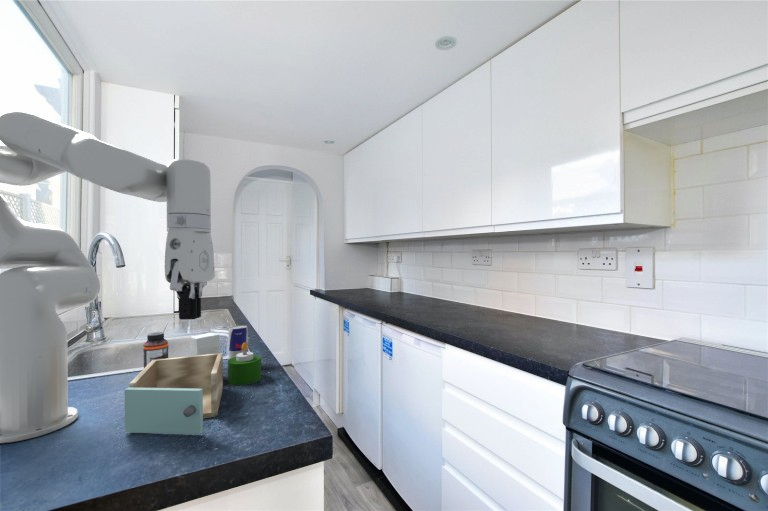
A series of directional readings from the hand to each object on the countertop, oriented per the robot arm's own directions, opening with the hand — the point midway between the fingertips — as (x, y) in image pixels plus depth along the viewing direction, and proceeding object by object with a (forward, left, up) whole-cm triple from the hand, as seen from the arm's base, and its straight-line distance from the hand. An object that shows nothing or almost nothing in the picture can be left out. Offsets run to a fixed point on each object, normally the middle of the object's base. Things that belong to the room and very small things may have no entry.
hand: (190, 318), depth 66 cm
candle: (+9, +23, -21) cm, 33 cm away
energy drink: (+7, +35, -21) cm, 42 cm away
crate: (-3, +10, -21) cm, 24 cm away
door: (-4, -2, -21) cm, 21 cm away
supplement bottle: (-15, +39, -21) cm, 47 cm away
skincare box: (-1, +27, -21) cm, 35 cm away
